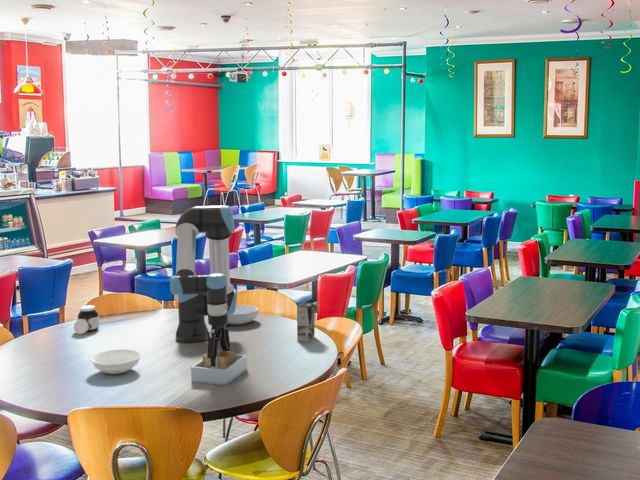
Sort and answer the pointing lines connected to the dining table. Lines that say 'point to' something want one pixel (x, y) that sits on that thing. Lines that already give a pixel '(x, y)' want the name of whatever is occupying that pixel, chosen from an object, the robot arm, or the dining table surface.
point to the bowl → (116, 361)
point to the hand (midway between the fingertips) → (219, 370)
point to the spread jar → (87, 320)
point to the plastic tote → (219, 372)
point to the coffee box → (305, 322)
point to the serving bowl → (243, 314)
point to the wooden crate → (220, 359)
